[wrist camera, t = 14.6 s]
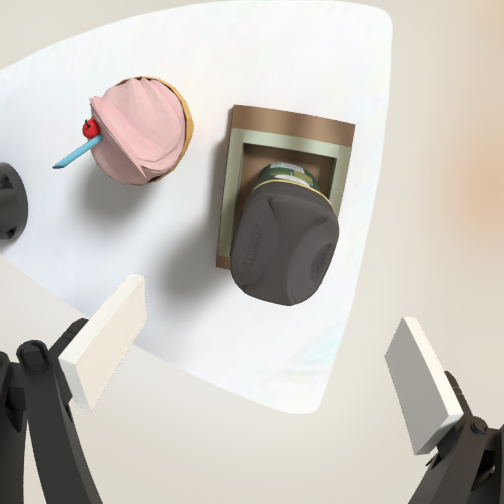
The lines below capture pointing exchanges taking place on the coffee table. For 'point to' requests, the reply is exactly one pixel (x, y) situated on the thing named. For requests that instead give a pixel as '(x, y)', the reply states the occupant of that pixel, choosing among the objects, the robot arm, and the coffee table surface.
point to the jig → (280, 159)
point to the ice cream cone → (137, 131)
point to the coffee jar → (283, 237)
